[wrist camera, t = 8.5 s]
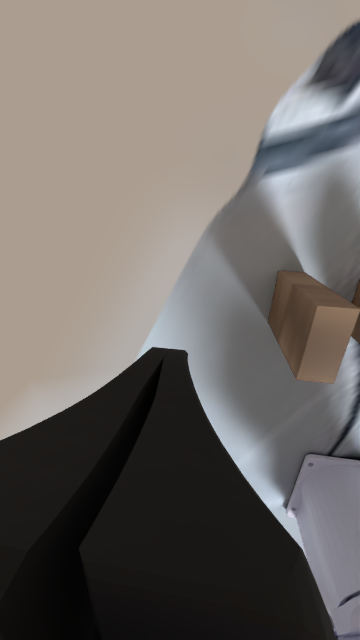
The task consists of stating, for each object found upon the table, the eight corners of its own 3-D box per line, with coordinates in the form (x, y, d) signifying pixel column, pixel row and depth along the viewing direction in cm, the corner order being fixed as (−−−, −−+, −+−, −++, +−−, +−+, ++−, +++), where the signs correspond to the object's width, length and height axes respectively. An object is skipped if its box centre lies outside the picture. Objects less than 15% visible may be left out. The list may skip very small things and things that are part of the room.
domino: (292, 324, 19) (333, 383, 12) (267, 322, 19) (296, 379, 13) (304, 272, 17) (360, 309, 11) (278, 270, 18) (317, 305, 11)
